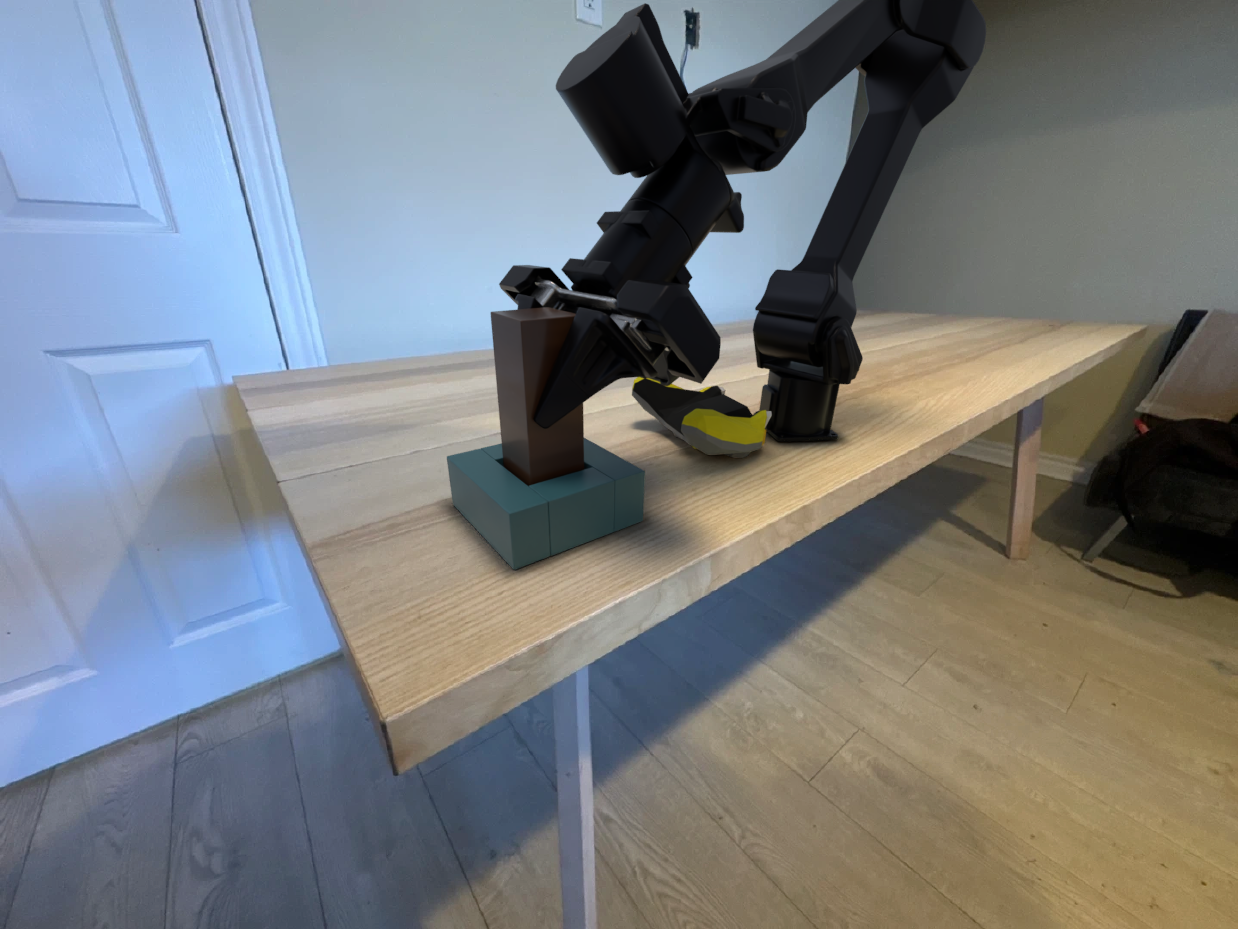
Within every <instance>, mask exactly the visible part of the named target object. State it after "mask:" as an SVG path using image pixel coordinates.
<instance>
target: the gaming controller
mask: <svg viewBox="0 0 1238 929" xmlns="http://www.w3.org/2000/svg"><path fill="white" fill-rule="evenodd" d="M631 388H632V389H631V396H632V397H633V399H634V400H635V401H636V402H637V403H638V404H639V406H640V407H641V408H642V409H643V410H644V411H645V412H646V413H648V414H649V415H650V416H652V417H653V418H655V419H656V420H657V421H658V422H659V423H660V424H661V425H662V426H664V427H665V428H667V429H668V430H669V431H671V432H672V433H673V436H674V437H675V438H678V439H681V440H683V441H684V442H685V443H686V444H687V445H689V446H691V448H693V449H694V450H698V451H700V452H701V453H703V454H705V455H709V456H715V455H724V456H728V457H730V458H735V459H744V458H747V457H748V456H749V455H750V454H751V453H752V452H755V451H758V450H761V448H762V447H763V446H764V445H765V444H766V436H767V431H766V430H765V427H766V425H767V423H768V421H769V420H770V418H771V416H772V413H771V411H766V410H760V411H759V410H756V411H755V412H754V413H752V411H751V410H750V409H749V407H748V405H745V404H743V403H742V402H740V401H738V400H735V399H734V398H731V397H730V396H728V395H726V389H725V388H724V387H723V386H719V385H711V386H706V387H704V388H702V389H700V390H692V389H686V388H683V387H680V386H679V385H676V384H674V383H672V384H670V385H669V386H664V385H661V383H660V382H659V381H656V380H653V379H650V378H645V379H644V378H641V377H635V379H634V380H633V384H632V387H631Z"/></svg>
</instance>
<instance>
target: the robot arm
mask: <svg viewBox="0 0 1238 929" xmlns="http://www.w3.org/2000/svg"><path fill="white" fill-rule="evenodd" d="M658 23H659V22H658V21H657V18H656V16H655V14H654V12H653V10H652V8H651V6H650V4H649V3H645V2H644V3H643V4H641V5H638V6H637V7H634V8H633V9H630V10H628V11H626V12H624V14H622V16H621V18H620V19H619V20H618V21H617V22H616V24H614V26H612V27H611V28H609V29H608V30H606V31H605V32H604V33H603V34H601V35H600V36H599V37H598V38H596V40H595V41H593V42H592V43H591V44H590V45H589V46H588V47H586V49H584V50H583V51H580V52H579V53H577V54H575V55H574V56H573V57H571V59H570V61H569V62H568V63H567V65H566V66H565V67H564V69H563V70H562V71H561V73H560V75H559V77H558V78H557V80H556V83H555V90H556V92H557V93H558V95H559V97H560V98H561V99H562V101H563V102H564V104H565V105H566V107H567V108H568V110H569V112H570V113H571V114H572V117H574V119H575V120H576V122H577V123H578V126H580V129H581V130H582V132H583V133H584V135H586V137H587V139H588V140H589V142H590V143H591V145H592V147H593V148H594V150H595V151H596V153H597V154H598V156H599V157H600V158H601V160H602V161H603V163H604V165H605V166H606V167H607V169H608V170H609V172H610V173H611V174H612V175H615V176H624V175H626V174H630V175H631V177H632V178H634V179H640V178H644V179H643V180H642V181H641V183H640V184H639V185H638V187H636V190H635V191H634V192H633V194H632V195H631V196H630V197H629V199H628V200H627V202H626V203H625V204H624V205H623V207H622V208H621V209H620V211H619V210H618V211H617V210H616V211H615V210H614V211H604V212H603V213H602V214H601V216H600V217H599V219H598V220H597V222H596V224H597V226H598V228H600V230H601V231H602V235H601V236H600V237H599V238H598V240H597V241H596V243H595V244H594V245H593V246H592V248H591V249H590V250H589V252H588V253H587V254H586V256H585V257H584V258H583V259H582V258H573V257H572V258H571V257H570V258H569V259H568V260H567V261H566V262H565V264H564V265H563V266H562V268H561V269H560V270H561V272H562V273H563V274H564V275H565V276H566V277H567V279H568V280H569V281H570V282H571V284H572V285H571V286H570V288H569V287H568V286H567V285H566V284H565V283H564V282H563V281H562V280H561V278H560V277H559V276H558V275H557V274H556V273H555V271H554V270H553V269H552V268H551V267H548V266H539V265H531V264H514V265H512V266H511V268H510V269H509V270H508V272H507V273H506V274H505V275H504V276H503V278H502V279H501V281H500V282H499V283H498V285H499V288H500V290H502V291H503V293H504V294H506V296H508V297H509V299H511V300H512V301H513V303H515V304H516V306H517V309H516V310H519V309H531V308H544V307H549V308H553V309H558V310H562V311H566V312H570V313H574V314H576V315H575V317H574V320H573V322H572V324H571V327H570V329H569V331H568V334H567V336H566V338H565V341H564V343H563V346H562V348H561V350H560V353H559V355H558V357H557V360H556V362H555V364H554V367H553V369H552V371H551V374H550V376H549V378H548V381H547V383H546V385H545V387H544V390H543V392H542V395H541V397H540V400H539V403H538V406H537V409H536V411H535V414H534V417H533V420H534V422H536V423H537V424H538V425H539V426H541V427H542V428H544V429H547V428H549V427H550V426H552V425H553V424H555V423H556V422H557V421H559V420H560V419H561V418H563V417H564V416H566V415H567V414H568V413H570V412H571V411H572V410H574V409H575V408H577V407H578V406H579V405H581V404H582V403H583V404H584V403H585V402H586V401H588V400H589V399H590V398H592V397H593V396H595V395H597V393H599V392H600V391H602V390H604V389H605V388H606V387H608V386H610V385H611V384H613V383H614V382H617V381H618V380H621V379H630V378H631V379H633V378H637V377H641V378H644V379H645V378H650V379H653V380H656V381H659V382H660V383H661V385H664V386H669V385H670V384H674V382H676V381H677V380H679V378H682V379H684V380H687V381H691V382H693V383H698V384H703V383H704V381H705V380H706V378H707V377H708V376H709V374H710V372H711V371H712V370H713V368H714V367H715V366H716V364H717V362H718V361H719V360H720V356H721V354H720V353H721V336H720V334H719V333H718V331H717V329H716V328H715V327H714V325H713V324H712V322H711V320H710V319H709V317H708V316H707V315H706V313H705V311H704V309H703V308H702V307H701V305H700V304H699V302H698V300H697V299H696V298H695V296H694V295H693V293H692V292H691V290H690V287H691V284H690V283H691V281H692V279H693V278H694V276H692V274H691V272H690V271H689V269H688V268H687V264H688V263H689V262H690V260H691V259H692V257H693V256H694V255H695V254H696V252H697V250H698V249H699V248H700V246H701V245H702V244H703V242H704V241H705V240H706V238H707V237H708V235H709V234H710V233H723V234H724V233H725V234H727V233H728V234H729V233H730V234H740V233H742V232H743V231H744V229H745V214H744V211H743V209H742V208H743V207H742V198H743V196H742V192H740V191H734V188H733V187H732V185H731V183H730V181H729V179H728V176H733V175H742V174H752V173H753V174H755V173H764V172H769V171H771V170H773V169H775V168H776V167H778V166H779V165H780V164H781V163H782V161H783V160H784V159H785V158H786V156H787V155H788V154H789V153H790V151H791V150H792V149H793V147H794V146H795V145H796V144H797V142H798V141H799V140H800V139H801V137H802V136H803V135H804V133H805V132H806V129H807V122H808V113H809V112H810V110H812V108H813V107H814V105H815V104H816V103H817V102H818V101H820V100H821V99H822V98H823V97H825V95H826V94H827V93H829V92H830V91H831V90H832V89H833V88H834V87H835V86H837V85H838V84H839V83H840V82H842V80H844V79H845V78H846V77H847V76H848V75H849V74H850V73H852V72H853V70H855V69H856V71H858V72H859V73H860V74H861V75H862V76H864V79H863V86H864V91H865V97H866V98H865V99H866V104H867V113H866V116H865V119H864V120H863V122H862V125H861V127H860V129H859V132H858V133H857V136H856V139H855V141H854V142H853V145H852V148H851V150H850V152H849V154H848V157H847V158H846V161H845V163H844V166H843V168H842V170H841V172H840V174H839V177H838V179H837V181H836V183H835V186H834V187H833V190H832V192H831V194H830V195H831V196H830V197H829V199H828V201H827V204H826V206H825V208H824V210H823V213H822V215H821V217H820V219H819V222H818V224H817V226H816V228H815V231H814V233H813V235H812V238H811V239H810V241H809V244H808V247H807V249H806V251H805V253H804V256H803V258H802V259H801V261H800V262H798V264H797V265H795V266H794V267H793V268H792V269H790V270H789V269H775V270H774V271H773V273H772V274H771V275H770V277H769V278H768V281H767V284H766V288H765V291H764V293H763V296H761V299H760V300H759V302H758V303H757V305H756V306H755V308H754V310H755V311H757V313H756V315H755V319H754V320H753V325H752V334H753V335H752V336H753V343H754V344H753V345H754V352H755V361H756V367H757V368H758V369H766V370H769V371H768V377H767V383H766V384H765V383H764V384H763V385H762V388H761V395H760V402H759V404H760V405H759V408H758V409H759V410H758V411H760V410H766V411H771V413H772V416H771V418H770V420H769V421H768V423H767V425H766V427H765V430H766V433H768V434H769V435H770V436H771V437H772V438H773V439H774V440H776V441H777V442H782V443H783V442H810V441H811V442H812V441H814V442H815V441H837V440H838V439H839V434H838V433H837V432H836V431H834V430H833V429H832V425H833V420H834V416H835V410H836V406H837V400H838V396H839V395H838V394H839V391H840V385H845V386H846V385H850V384H851V383H852V381H853V380H855V379H856V378H857V375H858V373H859V371H860V368H861V365H862V362H863V358H864V357H863V354H862V351H861V349H860V347H859V344H858V341H857V339H856V336H855V334H854V331H853V329H852V327H853V324H854V321H855V319H856V316H857V311H858V310H857V303H856V297H855V291H854V284H853V281H854V278H855V276H856V273H857V271H858V269H859V267H860V265H861V263H862V260H863V259H864V256H865V254H866V251H867V249H868V247H869V245H870V243H871V241H872V239H873V236H874V234H875V232H876V229H877V227H878V225H879V223H880V221H881V219H882V216H883V214H884V212H885V210H886V208H887V205H888V204H889V202H890V199H891V197H892V194H893V193H894V190H895V189H896V187H897V184H898V182H899V179H900V177H901V175H902V173H903V171H904V168H905V166H906V164H907V161H908V160H909V157H910V155H911V153H912V150H913V148H914V146H915V144H916V142H917V141H918V138H919V136H920V134H921V132H922V130H923V129H924V128H925V127H926V126H927V125H928V124H929V123H931V122H932V121H933V120H934V119H935V118H936V117H938V116H939V115H940V114H941V113H942V112H944V111H945V110H946V109H947V108H948V107H949V106H950V105H951V104H953V103H954V101H956V99H957V98H958V96H959V94H960V92H961V90H962V89H963V87H964V86H965V84H966V82H967V80H968V79H969V77H970V75H971V74H972V71H973V70H974V68H975V66H976V65H977V64H978V62H979V61H980V59H981V56H982V54H983V52H984V48H985V44H986V39H987V38H986V37H987V22H986V19H985V17H984V15H983V14H982V12H981V11H980V9H979V8H978V6H977V4H976V3H975V1H974V0H837V1H836V2H834V3H833V4H832V5H831V6H830V7H828V8H827V9H826V10H825V11H824V12H822V13H821V14H820V15H818V16H817V17H815V19H813V21H811V22H810V23H809V24H807V25H806V26H805V27H804V28H803V29H801V30H800V31H799V32H798V33H796V34H795V35H794V36H792V37H791V38H790V39H789V40H788V41H787V42H785V43H784V44H783V45H782V46H781V47H779V48H778V49H777V50H776V51H774V52H773V53H772V54H771V55H769V56H768V57H767V58H765V59H764V60H762V61H760V62H758V63H754V64H753V65H750V66H747V67H745V68H742V69H740V70H736V71H734V72H732V73H730V74H727V75H725V76H722V77H720V78H717V79H715V80H713V81H711V82H708V83H705V85H702V86H699V87H698V88H696V89H695V90H693V91H692V92H688V90H687V88H686V86H685V83H684V81H683V80H682V77H681V75H680V73H679V71H678V69H677V67H676V65H675V63H674V61H673V59H672V56H671V55H670V52H669V50H668V49H667V46H666V44H665V41H664V38H663V35H662V32H661V28H660V25H659V24H658Z"/></svg>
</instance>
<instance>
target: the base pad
mask: <svg viewBox="0 0 1238 929" xmlns="http://www.w3.org/2000/svg"><path fill="white" fill-rule="evenodd" d="M446 462H447V464H446V465H447V470H448V478H449V479H448V480H449V484H450V485H449V486H450V492H451V501H452V505H453V506H454V508H456V509H457V511H458V512H460V513H461V515H462V516H463V517H464V518H465V519H466V520H467V521H468V522H469V523H470V525H472V526H473V528H474V529H475V530H476V531H477V532H478V533H479V534H480V535H481V536H482V537H483V539H485V541H486V542H487V543H488V544H489V545H490V546H491V547H492V548H493V549H494V550H495V552H497V554H498V555H499V556H500V557H502V559H503V560H504V561H505V562H506V563H507V564H508V565H509V567H511V569H512V570H514V571H515V570H518V569H521V568H523V567H526V566H529V565H530V564H533V563H537V562H539V561H542V560H544V559H546V558H549V557H553V556H556V555H557V554H560V553H564V552H565V551H568V550H570V549H574V548H575V547H578V546H581V545H584V544H585V543H586V544H587V543H590V542H591V541H594V540H596V539H599V538H602V537H604V536H607V535H610V534H612V533H615V532H618V531H620V530H623V529H626V528H628V527H631V526H634V525H636V524H639V523H642V522H644V508H645V506H644V504H645V481H646V470H645V469H642V468H641V467H639V466H637V465H635V464H633V463H632V462H630V461H628V460H626V459H625V458H623V457H621V456H619V455H617V454H615V453H614V452H611V451H609V450H608V449H607V448H604V447H602V446H600V445H598V444H597V443H595V442H593V441H591V440H589V439H588V438H585V437H584V470H581V471H578V472H575V473H571V474H568V475H564V476H561V477H557V478H554V479H550V480H547V481H543V482H540V483H536V484H533V485H529V486H527V485H526V484H525V483H523V482H522V481H521V480H520V479H518V478H517V477H516V476H515V475H513V474H512V473H511V472H509V471H508V470H507V469H506V468H504V465H503V453H502V442H501V443H497V444H493V445H489V446H484V447H480V448H477V449H472V450H467V451H463V452H460V453H454V454H451V455H447V456H446Z"/></svg>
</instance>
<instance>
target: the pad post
mask: <svg viewBox="0 0 1238 929" xmlns="http://www.w3.org/2000/svg"><path fill="white" fill-rule="evenodd" d="M575 315H576V314H574V313H570V312H566V311H562V310H558V309H553V308H549V307H544V308H531V309H519V310H517V309H509V310H496V311H490V324H491V333H492V335H491V336H492V347H493V358H494V359H493V360H494V370H495V371H494V372H495V382H496V394H497V395H496V396H497V405H498V416H499V427H500V440H501V443H502V453H503V465H504V468H506V469H507V470H508V471H509V472H511V473H512V474H513V475H515V476H516V477H517V478H518V479H520V480H521V481H522V482H523V483H525V484H526V485H527V486H529V485H533V484H536V483H540V482H543V481H547V480H550V479H554V478H557V477H561V476H564V475H568V474H571V473H575V472H578V471H581V470H584V438H585V436H584V435H585V429H584V427H585V425H584V402H583V403H582V404H581V405H579V406H578V407H577V408H575V409H574V410H572V411H571V412H570V413H568V414H567V415H566V416H564V417H563V418H561V419H560V420H559V421H557V422H556V423H555V424H553V425H552V426H550V427H549V428H547V429H544V428H542V427H541V426H539V425H538V424H537V423H536V422H534V420H533V417H534V414H535V411H536V409H537V406H538V403H539V400H540V397H541V395H542V392H543V390H544V387H545V385H546V383H547V381H548V378H549V376H550V374H551V371H552V369H553V367H554V364H555V362H556V360H557V357H558V355H559V353H560V350H561V348H562V346H563V343H564V341H565V338H566V336H567V334H568V331H569V329H570V327H571V324H572V322H573V320H574V317H575Z"/></svg>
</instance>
